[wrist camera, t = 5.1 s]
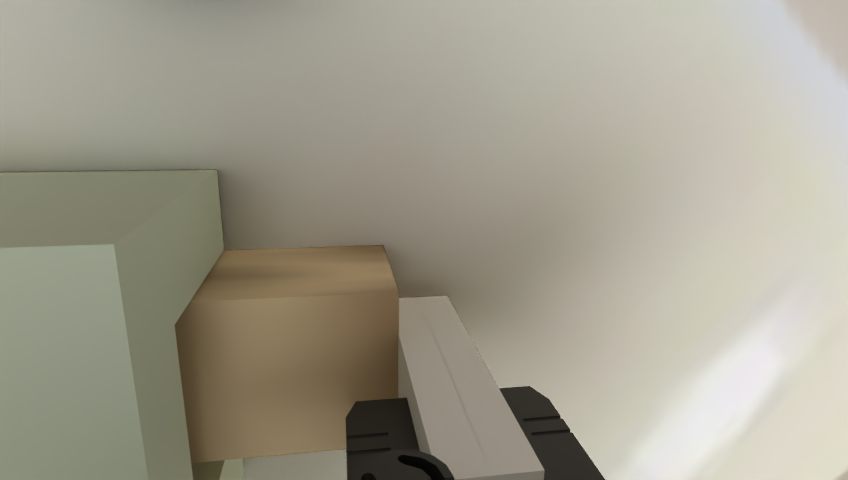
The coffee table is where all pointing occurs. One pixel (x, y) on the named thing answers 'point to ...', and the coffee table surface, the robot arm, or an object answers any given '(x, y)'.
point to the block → (101, 322)
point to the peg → (286, 349)
